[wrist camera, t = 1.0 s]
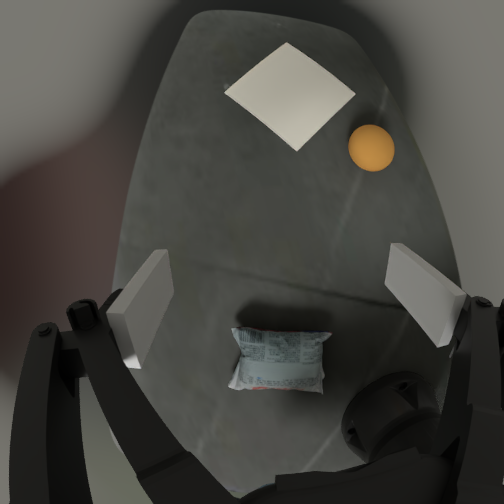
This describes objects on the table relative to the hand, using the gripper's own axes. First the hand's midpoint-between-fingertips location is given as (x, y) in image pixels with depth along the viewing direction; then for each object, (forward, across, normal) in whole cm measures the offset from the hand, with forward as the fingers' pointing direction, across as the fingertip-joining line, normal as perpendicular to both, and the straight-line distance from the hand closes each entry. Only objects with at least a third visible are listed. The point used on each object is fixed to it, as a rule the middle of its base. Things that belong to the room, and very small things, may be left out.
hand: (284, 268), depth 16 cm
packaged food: (+13, -1, +18) cm, 22 cm away
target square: (+22, -4, -14) cm, 26 cm away
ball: (+16, -12, -7) cm, 22 cm away
